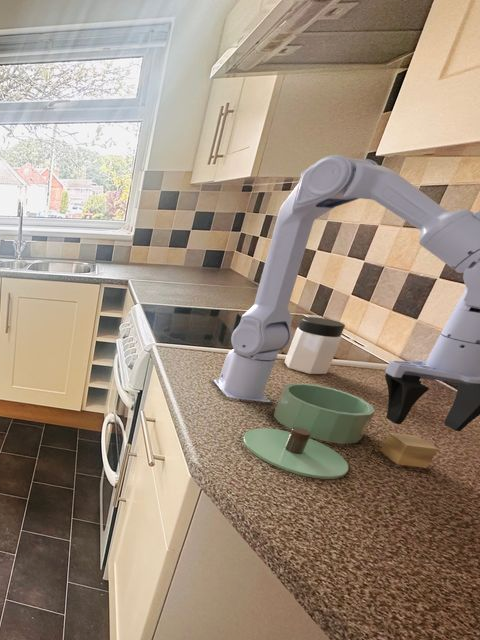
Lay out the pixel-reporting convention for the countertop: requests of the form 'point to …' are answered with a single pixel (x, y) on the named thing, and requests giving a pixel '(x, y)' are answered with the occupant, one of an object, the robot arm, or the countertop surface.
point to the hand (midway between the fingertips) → (422, 424)
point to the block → (408, 450)
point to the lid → (295, 452)
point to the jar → (314, 345)
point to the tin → (324, 412)
